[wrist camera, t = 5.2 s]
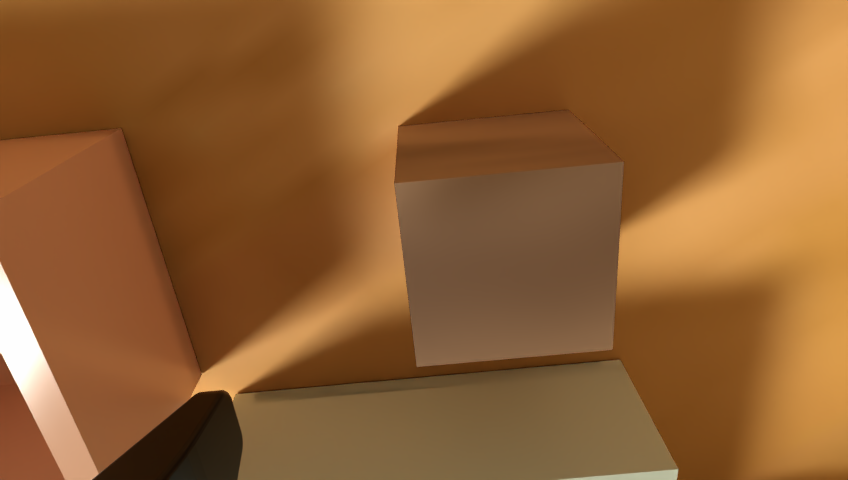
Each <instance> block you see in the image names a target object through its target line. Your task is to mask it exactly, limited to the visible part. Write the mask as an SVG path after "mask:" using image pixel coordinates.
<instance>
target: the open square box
mask: <svg viewBox="0 0 848 480" xmlns="http://www.w3.org/2000/svg"><path fill="white" fill-rule="evenodd" d="M201 375H202V374H201V371H200V368H199V365H198V362H197V359H196V356H195V353H194V350H193V347H192V344H191V341H190V338H189V335H188V332H187V328H186V325H185V322H184V319H183V316H182V313H181V310H180V307H179V304H178V301H177V298H176V295H175V292H174V289H173V286H172V282H171V279H170V276H169V273H168V270H167V267H166V264H165V261H164V258H163V255H162V252H161V249H160V246H159V243H158V239H157V236H156V233H155V230H154V227H153V224H152V221H151V218H150V215H149V212H148V209H147V206H146V203H145V200H144V197H143V193H142V190H141V187H140V184H139V181H138V178H137V175H136V172H135V169H134V166H133V163H132V160H131V157H130V154H129V150H128V147H127V144H126V141H125V138H124V135H123V132H122V129H121V128H118V129H108V130H98V131H88V132H78V133H68V134H58V135H47V136H37V137H27V138H17V139H7V140H0V480H92V479H93V478H94V477H96V476H97V475H98V474H99V473H100V472H102V471H103V470H104V469H105V468H107V467H108V466H109V465H110V464H111V463H113V462H114V461H115V460H116V459H117V458H119V457H120V456H121V455H122V454H124V453H125V452H126V451H127V450H128V449H130V448H131V447H132V446H133V445H134V444H136V443H137V442H138V441H139V440H141V439H142V438H143V437H144V436H145V435H147V434H148V433H149V432H150V431H151V430H153V429H154V428H155V427H156V426H158V425H159V424H160V423H161V422H162V421H164V420H165V419H166V418H167V417H168V416H170V415H171V414H172V413H173V412H175V411H176V410H177V409H178V408H179V407H181V406H182V405H183V404H184V403H185V402H187V401H188V400H189V399H190V397H191V395H192V393H193V391H194V389H195V387H196V385H197V383H198V381H199V379H200V377H201Z"/></svg>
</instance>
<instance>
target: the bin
mask: <svg viewBox="0 0 848 480" xmlns="http://www.w3.org/2000/svg"><path fill="white" fill-rule="evenodd" d="M233 405H234V408H235V412H236V415H237V418H238V422H239V425H240V428H241V432H242V437H243V450H242V456H241V462H240V468H239V474H238V480H677V476H678V467H677V466H676V464H675V462H674V460H673V458H672V456H671V454H670V452H669V450H668V449H667V447H666V445H665V443H664V441H663V439H662V437H661V435H660V434H659V432H658V430H657V428H656V426H655V424H654V422H653V420H652V418H651V417H650V415H649V413H648V411H647V409H646V407H645V405H644V403H643V402H642V400H641V398H640V396H639V394H638V392H637V390H636V388H635V386H634V385H633V383H632V381H631V379H630V377H629V375H628V373H627V371H626V369H625V368H624V366H623V364H622V362H621V360H610V361H599V362H587V363H576V364H565V365H554V366H543V367H532V368H521V369H510V370H498V371H487V372H476V373H465V374H454V375H443V376H432V377H421V378H410V379H398V380H387V381H376V382H365V383H354V384H343V385H332V386H321V387H309V388H298V389H287V390H276V391H265V392H254V393H243V394H236V395H235V397H234V400H233Z"/></svg>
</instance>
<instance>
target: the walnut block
mask: <svg viewBox="0 0 848 480" xmlns="http://www.w3.org/2000/svg"><path fill="white" fill-rule="evenodd" d="M623 170H624V161H623V160H622V159H621V158H619V157H618V156H617V155H616V154H615V153H614V152H613V151H612V150H611V149H610V148H609V147H608V146H607V145H606V144H605V143H603V142H602V141H601V140H600V139H599V138H598V137H597V136H596V135H595V134H594V133H593V132H592V131H591V130H590V129H589V128H587V127H586V126H585V125H584V124H583V123H582V122H581V121H580V120H579V119H578V118H577V117H576V116H575V115H574V114H573V113H572V112H570V111H569V110H559V111H549V112H538V113H528V114H518V115H508V116H497V117H487V118H477V119H467V120H456V121H446V122H436V123H425V124H415V125H405V126H398V140H397V154H396V168H395V182H394V184H395V192H396V201H397V209H398V217H399V225H400V234H401V242H402V250H403V258H404V267H405V275H406V283H407V291H408V300H409V308H410V316H411V324H412V332H413V341H414V349H415V357H416V365H417V367H423V366H434V365H445V364H457V363H468V362H479V361H491V360H502V359H514V358H525V357H536V356H548V355H559V354H570V353H582V352H593V351H604V350H613V336H614V319H615V303H616V286H617V269H618V253H619V236H620V220H621V203H622V187H623Z"/></svg>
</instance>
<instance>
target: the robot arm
mask: <svg viewBox="0 0 848 480" xmlns="http://www.w3.org/2000/svg"><path fill="white" fill-rule="evenodd" d="M242 450H243V437H242V432H241V428H240V425H239V422H238V418H237V415H236V412H235V408H234V405H233V402H232V399H231V396H230V395H229V393H228V392H226V391H224V390H219V391H208V392H200V393H197V394H196V395H194V396H193V397H192V398H190V399H189V400H188V401H187V402H185V403H184V404H183V405H182V406H181V407H179V408H178V409H177V410H176V411H175V412H173V413H172V414H171V415H170V416H168V417H167V418H166V419H165V420H164V421H162V422H161V423H160V424H159V425H158V426H156V427H155V428H154V429H153V430H151V431H150V432H149V433H148V434H147V435H145V436H144V437H143V438H142V439H141V440H139V441H138V442H137V443H136V444H134V445H133V446H132V447H131V448H130V449H128V450H127V451H126V452H125V453H124V454H122V455H121V456H120V457H119V458H117V459H116V460H115V461H114V462H113V463H111V464H110V465H109V466H108V467H107V468H105V469H104V470H103V471H102V472H100V473H99V474H98V475H97V476H96V477H94V478H93V479H92V480H238V474H239V468H240V462H241V456H242Z"/></svg>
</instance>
